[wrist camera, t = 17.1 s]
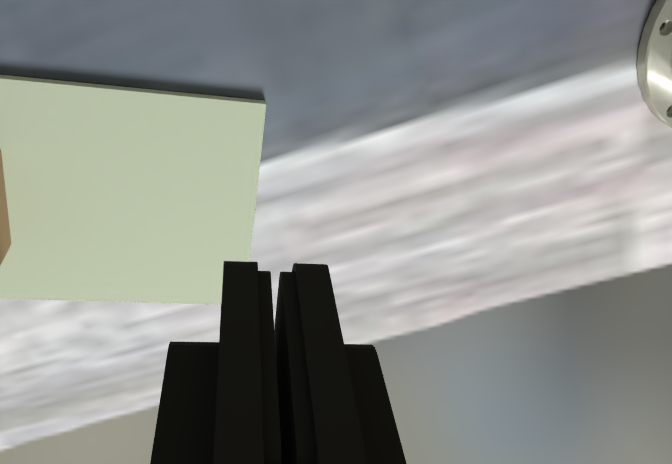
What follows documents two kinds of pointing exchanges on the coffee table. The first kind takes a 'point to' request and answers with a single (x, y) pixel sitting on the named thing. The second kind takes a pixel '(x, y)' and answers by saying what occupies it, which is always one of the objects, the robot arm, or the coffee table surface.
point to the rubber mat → (125, 190)
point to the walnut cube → (3, 217)
